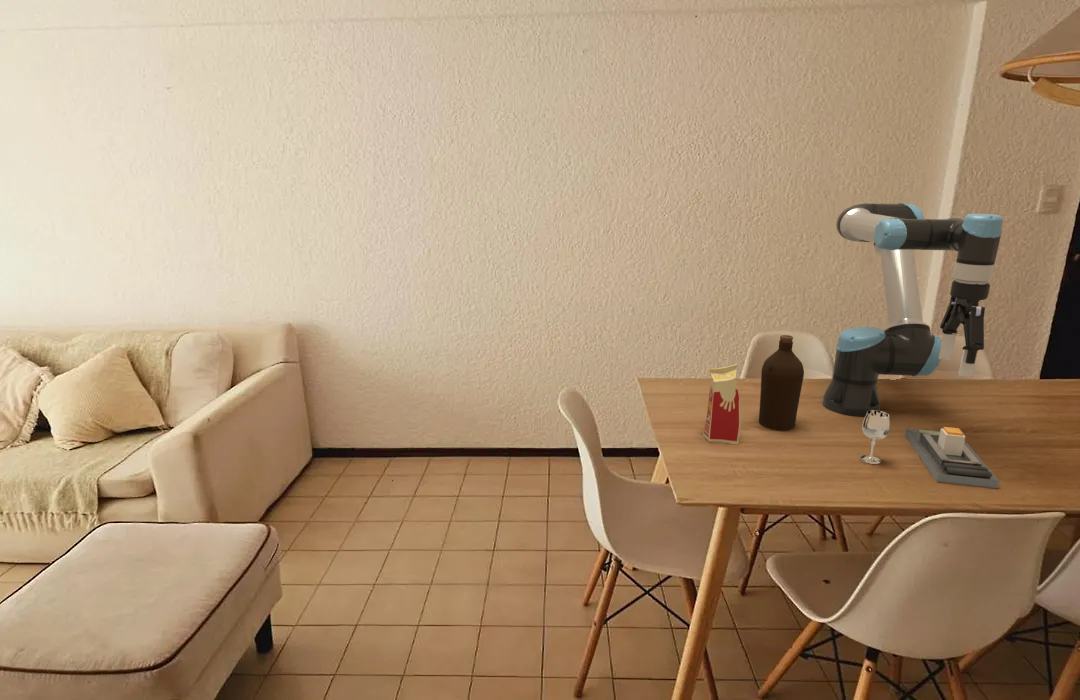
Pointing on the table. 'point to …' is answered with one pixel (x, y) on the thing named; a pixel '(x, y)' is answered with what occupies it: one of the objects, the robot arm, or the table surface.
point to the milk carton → (723, 407)
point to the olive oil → (781, 387)
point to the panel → (947, 459)
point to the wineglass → (875, 431)
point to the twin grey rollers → (967, 470)
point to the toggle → (951, 441)
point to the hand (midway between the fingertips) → (954, 367)
